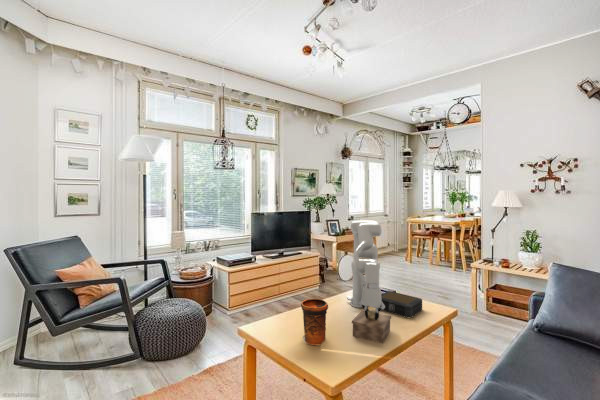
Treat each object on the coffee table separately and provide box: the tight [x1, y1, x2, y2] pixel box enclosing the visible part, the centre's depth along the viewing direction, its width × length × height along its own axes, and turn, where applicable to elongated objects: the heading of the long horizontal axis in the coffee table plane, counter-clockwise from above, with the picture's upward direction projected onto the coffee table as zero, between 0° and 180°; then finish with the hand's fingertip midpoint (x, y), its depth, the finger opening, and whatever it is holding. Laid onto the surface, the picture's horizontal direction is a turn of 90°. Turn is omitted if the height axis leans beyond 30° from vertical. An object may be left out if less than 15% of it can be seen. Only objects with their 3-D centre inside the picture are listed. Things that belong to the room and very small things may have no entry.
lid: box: [351, 309, 392, 330], centre depth 167 cm, size 17×17×5 cm
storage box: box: [352, 320, 391, 344], centre depth 167 cm, size 16×16×8 cm
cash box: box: [379, 290, 423, 318], centre depth 204 cm, size 25×20×8 cm
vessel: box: [300, 298, 329, 347], centre depth 162 cm, size 14×14×20 cm
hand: (371, 317), depth 167 cm, fingers open, 4 cm apart
